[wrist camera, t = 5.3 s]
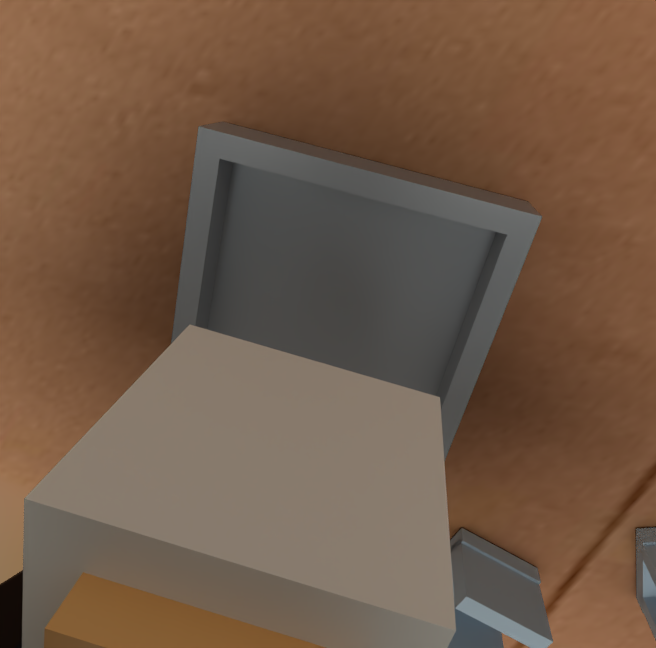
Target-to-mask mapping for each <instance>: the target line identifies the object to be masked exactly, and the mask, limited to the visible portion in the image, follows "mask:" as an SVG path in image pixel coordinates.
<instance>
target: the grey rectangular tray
mask: <svg viewBox="0 0 656 648" xmlns="http://www.w3.org/2000/svg"><path fill="white" fill-rule="evenodd" d="M541 219H542V216H541V215H540V214H539V213H538V212H537V211H536V210H535V208H534V207H533V206H532V205H531V204H530V203H529V202H528V201H524V200H520V199H516V198H513V197H509V196H505V195H501V194H497V193H494V192H490V191H486V190H482V189H478V188H474V187H471V186H467V185H463V184H459V183H455V182H452V181H448V180H444V179H440V178H436V177H433V176H429V175H425V174H421V173H417V172H413V171H410V170H406V169H402V168H398V167H394V166H391V165H387V164H383V163H379V162H375V161H372V160H368V159H364V158H360V157H356V156H352V155H349V154H345V153H341V152H337V151H333V150H330V149H326V148H322V147H318V146H314V145H310V144H307V143H303V142H299V141H295V140H291V139H288V138H284V137H280V136H276V135H272V134H269V133H265V132H261V131H257V130H253V129H249V128H246V127H242V126H238V125H234V124H230V123H227V122H218V123H213V124H208V125H203V126H199V127H198V135H197V143H196V151H195V159H194V167H193V175H192V183H191V191H190V198H189V206H188V214H187V222H186V230H185V238H184V246H183V254H182V262H181V270H180V277H179V285H178V293H177V301H176V309H175V317H174V325H173V333H172V341H171V344H172V342H173V341H174V340H175V339H176V338H177V337H178V336H179V335H180V334H181V333H182V332H183V331H184V330H185V329H186V328H187V327H188V326H189V325H193V326H197V327H200V328H204V329H207V330H211V331H214V332H217V333H221V334H224V335H228V336H231V337H235V338H238V339H241V340H245V341H248V342H252V343H255V344H259V345H262V346H266V347H269V348H272V349H276V350H279V351H283V352H286V353H290V354H293V355H296V356H300V357H303V358H307V359H310V360H314V361H317V362H321V363H324V364H327V365H331V366H334V367H338V368H341V369H345V370H348V371H351V372H355V373H358V374H362V375H365V376H369V377H372V378H376V379H379V380H382V381H386V382H389V383H393V384H396V385H400V386H403V387H406V388H410V389H413V390H417V391H420V392H424V393H427V394H431V395H434V396H437V397H440V405H441V419H442V434H443V448H444V461H445V459H446V456H447V454H448V451H449V449H450V446H451V444H452V441H453V439H454V436H455V434H456V431H457V429H458V426H459V424H460V421H461V419H462V416H463V414H464V411H465V409H466V406H467V404H468V401H469V399H470V396H471V394H472V391H473V389H474V386H475V384H476V381H477V379H478V376H479V374H480V371H481V369H482V366H483V364H484V361H485V359H486V356H487V354H488V351H489V349H490V346H491V344H492V341H493V339H494V336H495V334H496V331H497V329H498V326H499V324H500V321H501V319H502V316H503V314H504V311H505V309H506V306H507V304H508V301H509V299H510V296H511V294H512V291H513V289H514V286H515V284H516V281H517V279H518V276H519V274H520V271H521V269H522V266H523V264H524V261H525V259H526V256H527V254H528V251H529V249H530V246H531V244H532V241H533V239H534V236H535V234H536V231H537V229H538V226H539V224H540V221H541Z"/></svg>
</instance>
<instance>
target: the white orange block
mask: <svg viewBox="0 0 656 648" xmlns="http://www.w3.org/2000/svg"><path fill="white" fill-rule="evenodd" d="M455 632H456V623H455V608H454V594H453V579H452V565H451V550H450V536H449V521H448V506H447V492H446V477H445V463H444V448H443V434H442V419H441V405H440V397H437V396H434V395H431V394H427V393H424V392H420V391H417V390H413V389H410V388H406V387H403V386H400V385H396V384H393V383H389V382H386V381H382V380H379V379H376V378H372V377H369V376H365V375H362V374H358V373H355V372H351V371H348V370H345V369H341V368H338V367H334V366H331V365H327V364H324V363H321V362H317V361H314V360H310V359H307V358H303V357H300V356H296V355H293V354H290V353H286V352H283V351H279V350H276V349H272V348H269V347H266V346H262V345H259V344H255V343H252V342H248V341H245V340H241V339H238V338H235V337H231V336H228V335H224V334H221V333H217V332H214V331H211V330H207V329H204V328H200V327H197V326H193V325H189V326H188V327H187V328H186V329H185V330H184V331H183V332H182V333H181V334H180V335H179V336H178V337H177V338H176V339H175V340H174V341H173V342H172V344H171V345H170V346H169V347H168V348H167V349H166V350H165V351H164V352H163V353H162V354H161V355H160V356H159V357H158V358H157V359H156V360H155V361H154V362H153V364H152V365H151V366H150V367H149V368H148V369H147V370H146V371H145V372H144V373H143V374H142V375H141V376H140V377H139V378H138V379H137V380H136V381H135V382H134V384H133V385H132V386H131V387H130V388H129V389H128V390H127V391H126V392H125V393H124V394H123V395H122V396H121V397H120V398H119V399H118V400H117V401H116V402H115V404H114V405H113V406H112V407H111V408H110V409H109V410H108V411H107V412H106V413H105V414H104V415H103V416H102V417H101V418H100V419H99V420H98V421H97V422H96V424H95V425H94V426H93V427H92V428H91V429H90V430H89V431H88V432H87V433H86V434H85V435H84V436H83V437H82V438H81V439H80V440H79V441H78V443H77V444H76V445H75V446H74V447H73V448H72V449H71V450H70V451H69V452H68V453H67V454H66V455H65V456H64V457H63V458H62V459H61V460H60V461H59V463H58V464H57V465H56V466H55V467H54V468H53V469H52V470H51V471H50V472H49V473H48V474H47V475H46V476H45V477H44V478H43V479H42V480H41V481H40V483H39V484H38V485H37V486H36V487H35V488H34V489H33V490H32V491H31V492H30V493H29V494H28V495H27V496H26V497H25V498H24V548H23V605H22V648H447V647H448V645H449V643H450V642H451V640H452V638H453V636H454V634H455Z"/></svg>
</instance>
